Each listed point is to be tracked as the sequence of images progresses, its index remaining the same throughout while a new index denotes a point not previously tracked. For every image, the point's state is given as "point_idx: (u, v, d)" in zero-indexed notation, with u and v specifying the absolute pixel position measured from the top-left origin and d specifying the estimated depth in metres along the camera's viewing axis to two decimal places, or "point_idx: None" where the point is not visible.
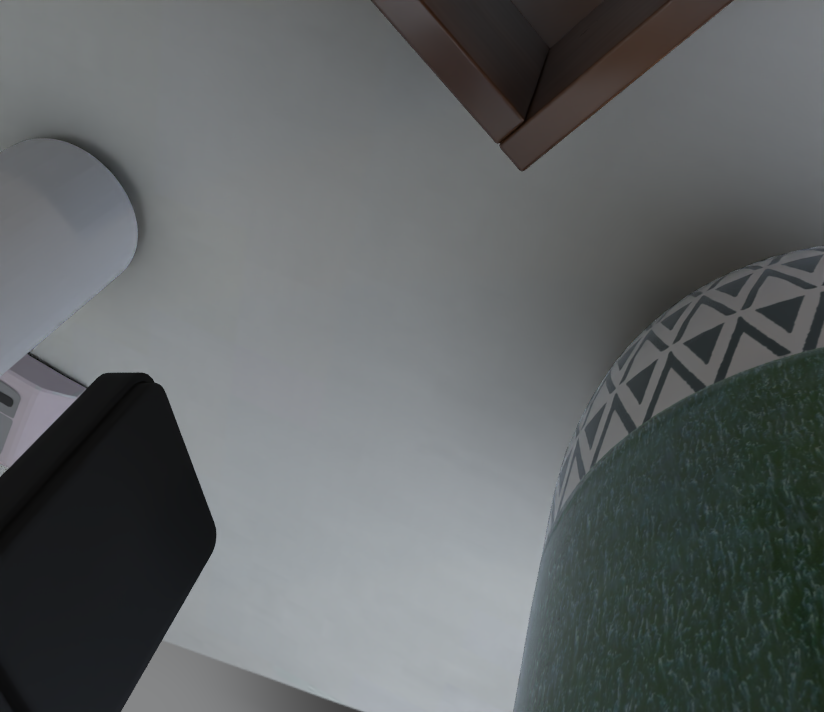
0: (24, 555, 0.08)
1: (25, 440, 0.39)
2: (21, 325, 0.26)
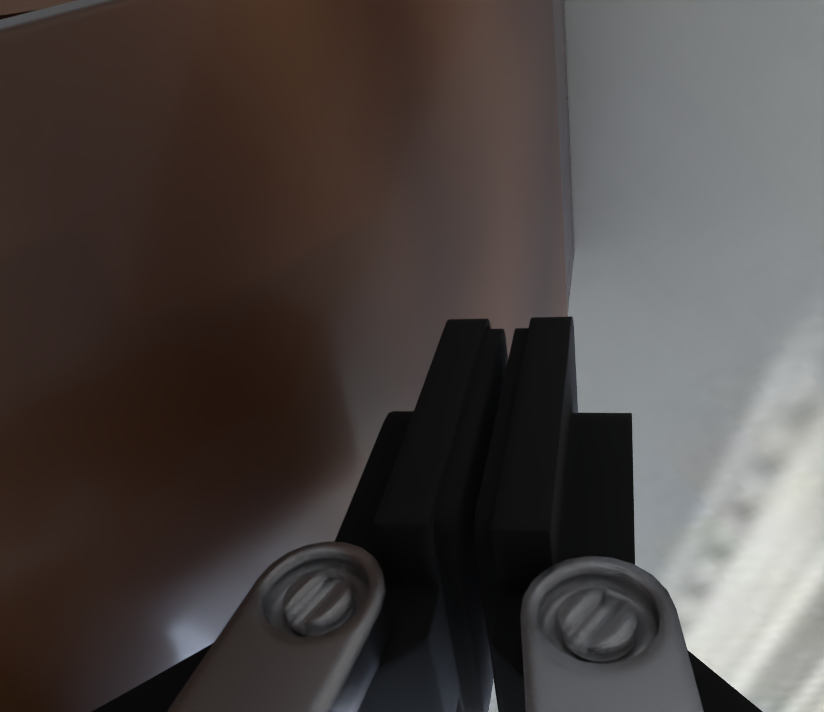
0: (470, 488, 0.08)
1: None
2: None
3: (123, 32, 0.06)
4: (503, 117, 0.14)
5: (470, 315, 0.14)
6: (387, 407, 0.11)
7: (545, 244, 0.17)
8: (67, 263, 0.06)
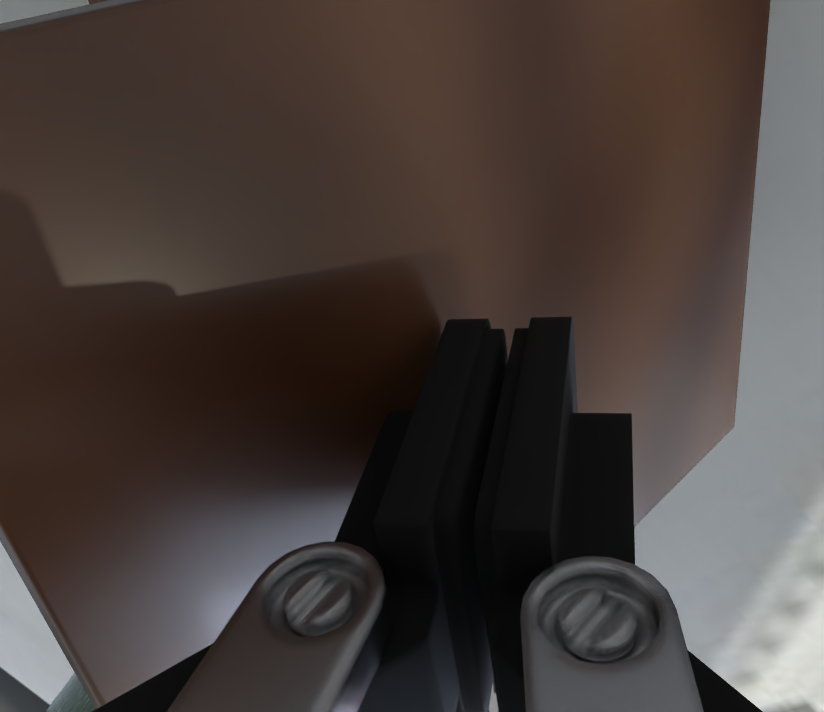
0: (469, 488, 0.08)
1: None
2: None
3: (213, 14, 0.07)
4: (677, 111, 0.13)
5: (600, 312, 0.13)
6: None
7: (720, 249, 0.16)
8: (135, 214, 0.07)
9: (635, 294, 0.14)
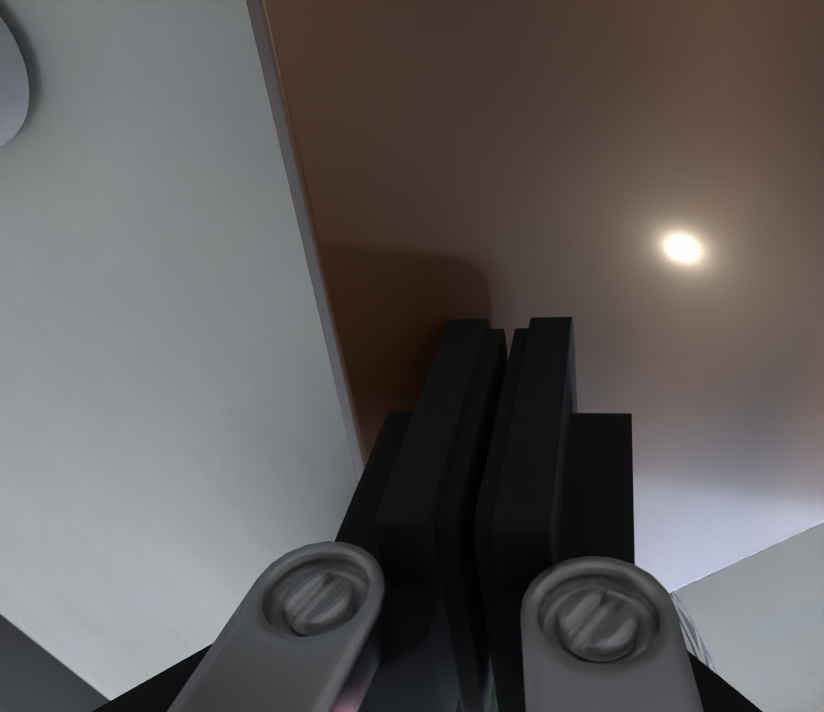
0: (469, 489, 0.08)
1: None
2: None
3: None
4: None
5: None
6: (726, 310, 0.12)
7: None
8: (467, 94, 0.09)
9: None
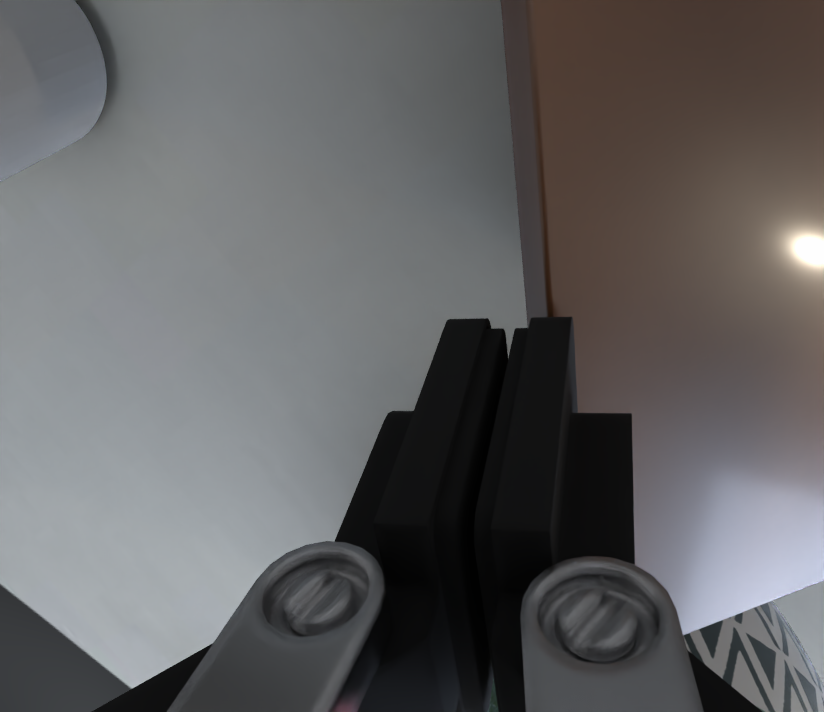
0: (469, 489, 0.08)
1: None
2: None
3: None
4: None
5: None
6: None
7: None
8: (704, 56, 0.09)
9: None
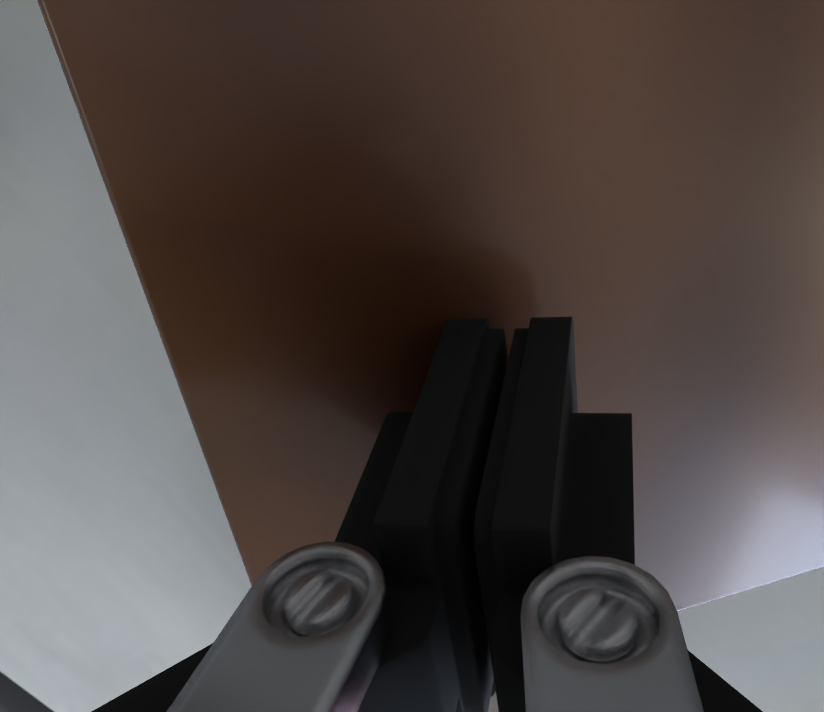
0: (469, 489, 0.08)
1: None
2: None
3: None
4: None
5: (818, 314, 0.12)
6: (628, 353, 0.11)
7: None
8: (291, 121, 0.09)
9: None
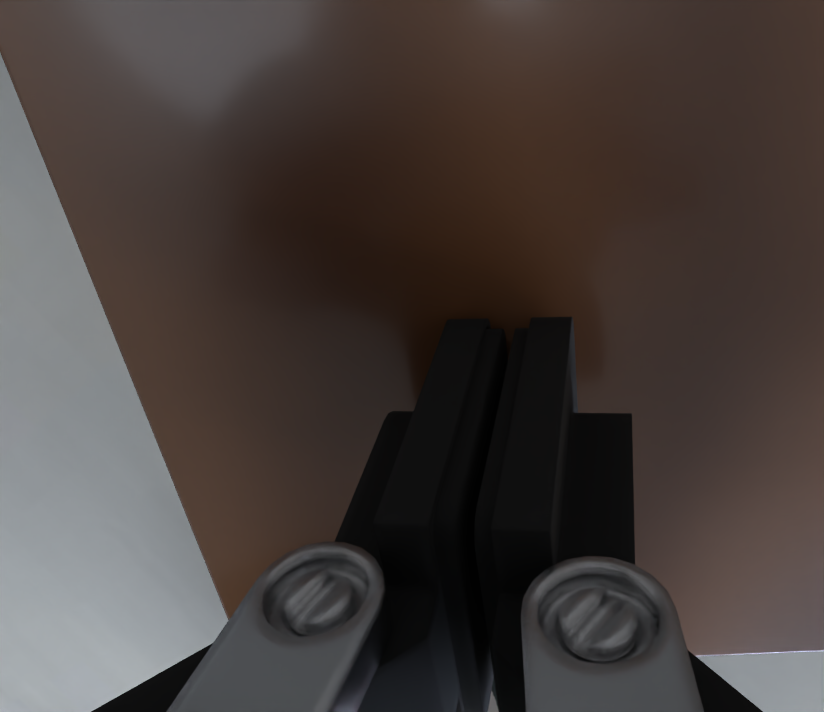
0: (469, 488, 0.08)
1: None
2: None
3: None
4: None
5: (798, 377, 0.11)
6: None
7: None
8: (205, 123, 0.09)
9: None
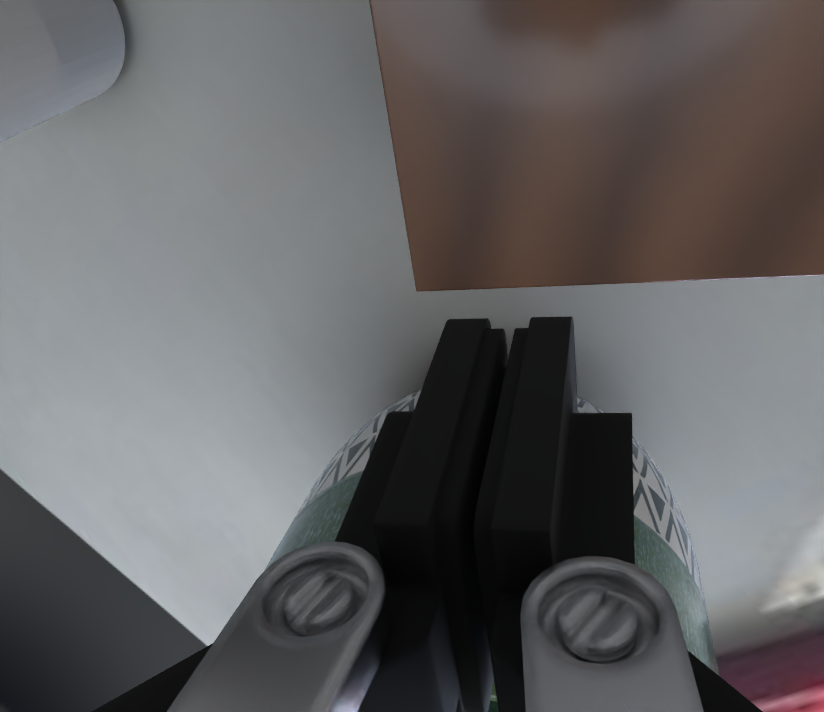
0: (469, 488, 0.08)
1: None
2: (7, 131, 0.30)
3: None
4: None
5: (698, 101, 0.23)
6: (588, 105, 0.23)
7: None
8: None
9: (737, 103, 0.22)
